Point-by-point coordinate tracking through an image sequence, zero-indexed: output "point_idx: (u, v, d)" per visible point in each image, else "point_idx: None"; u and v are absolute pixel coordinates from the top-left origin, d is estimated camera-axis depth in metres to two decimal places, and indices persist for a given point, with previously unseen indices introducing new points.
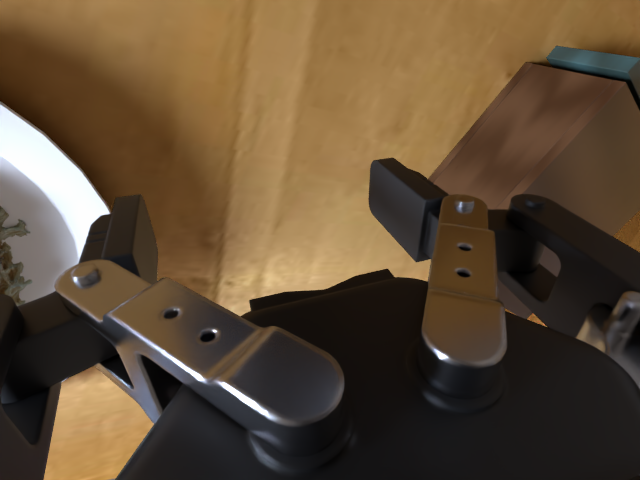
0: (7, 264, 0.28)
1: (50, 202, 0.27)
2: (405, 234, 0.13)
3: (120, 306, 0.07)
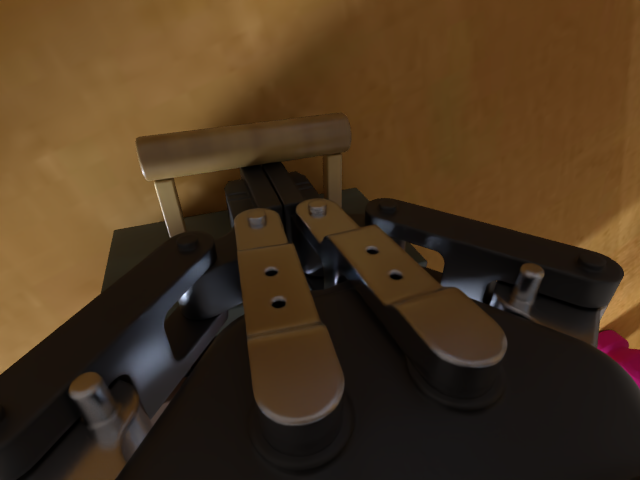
0: None
1: None
2: None
3: (248, 249, 0.08)
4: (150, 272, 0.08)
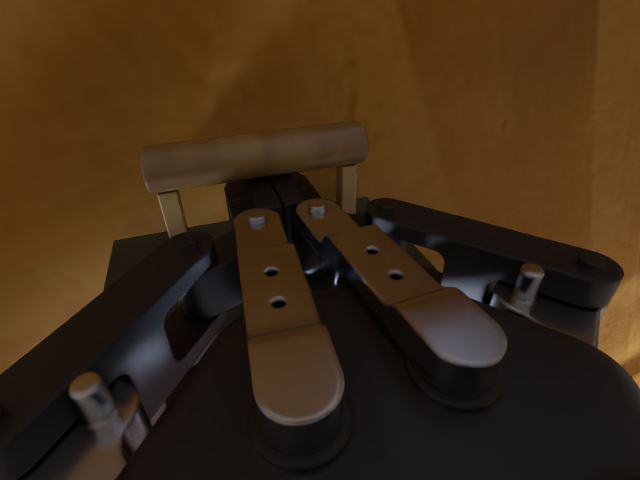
0: None
1: None
2: None
3: (248, 249, 0.08)
4: (149, 272, 0.08)
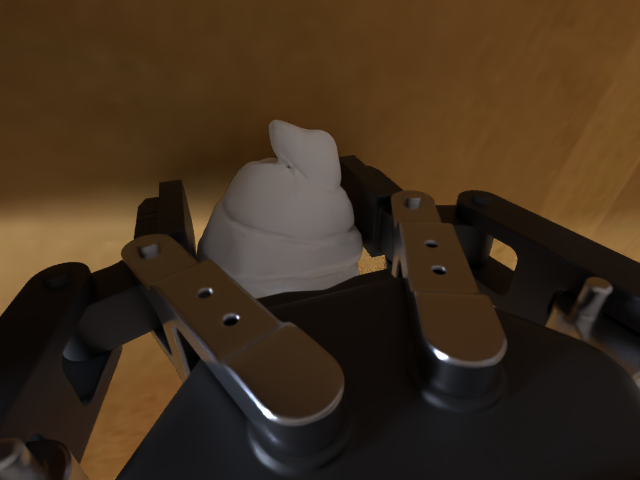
0: None
1: None
2: (362, 230, 0.13)
3: (165, 279, 0.07)
4: (23, 320, 0.07)
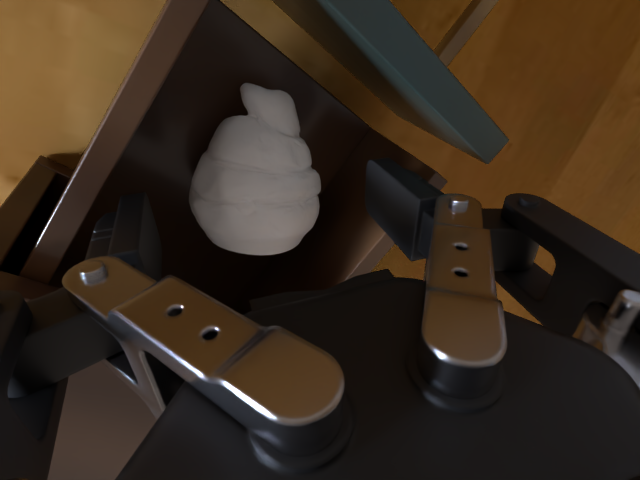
0: None
1: None
2: (400, 233, 0.13)
3: (125, 303, 0.07)
4: None
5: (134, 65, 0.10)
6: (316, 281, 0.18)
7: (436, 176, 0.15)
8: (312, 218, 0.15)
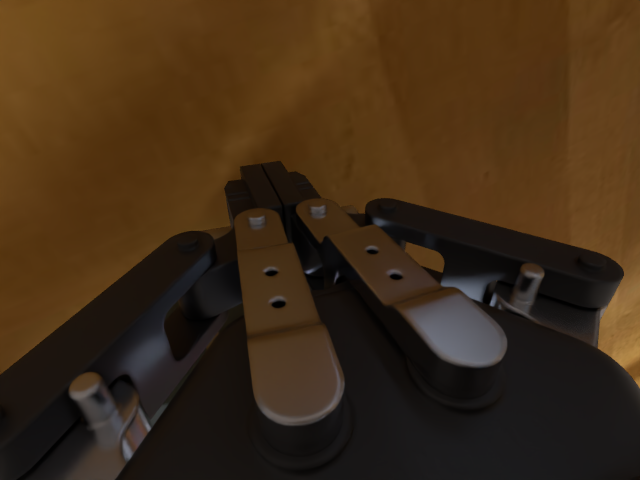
0: None
1: None
2: None
3: (248, 249, 0.08)
4: (149, 272, 0.08)
5: None
6: None
7: None
8: None
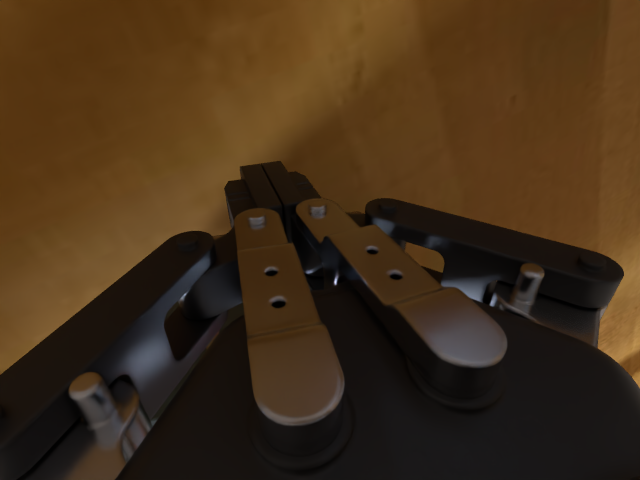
0: None
1: None
2: None
3: (248, 249, 0.08)
4: (150, 272, 0.08)
5: None
6: None
7: None
8: None
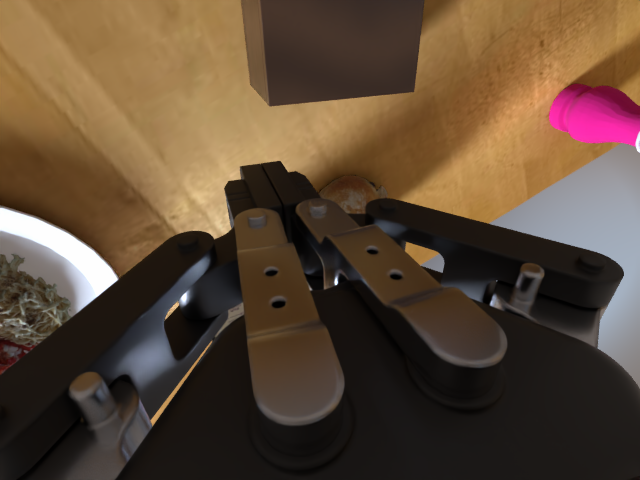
0: (32, 282, 0.43)
1: (14, 234, 0.40)
2: None
3: (248, 249, 0.08)
4: (149, 272, 0.08)
5: None
6: None
7: None
8: None
